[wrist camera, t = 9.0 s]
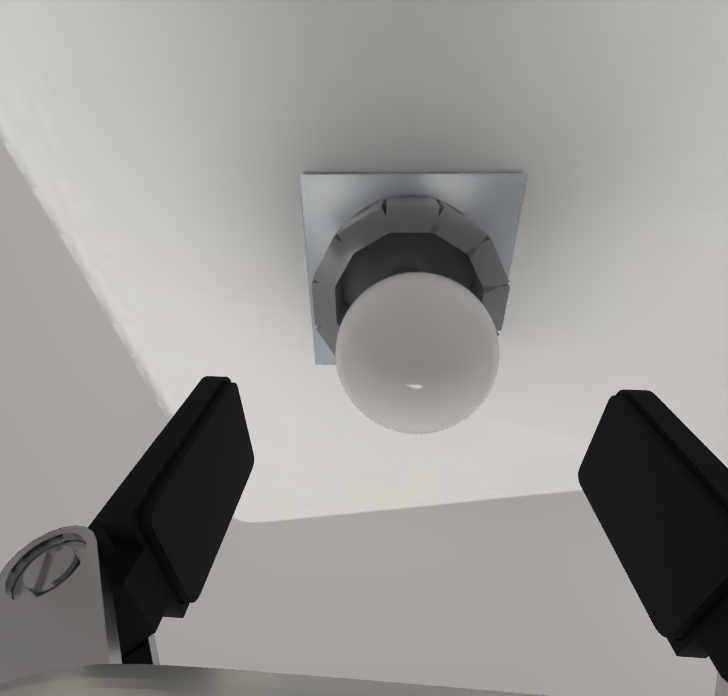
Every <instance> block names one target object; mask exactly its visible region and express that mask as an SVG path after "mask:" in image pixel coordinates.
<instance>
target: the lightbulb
mask: <svg viewBox="0 0 728 696" xmlns="http://www.w3.org/2000/svg"><path fill="white" fill-rule="evenodd" d="M335 353H336V366H337V371H338V375H339V378H340V381H341V383H342V386H343V388H344V390H345V392H346V394H347V395H348V397H349V398H350V400H351V401H352V402H353V404H354V405H355V406H356V407H357V408H358V409H359V410H360V411H361V412H362V413H363V414H364V415H365V416H366V417H368V418H369V419H370V420H372V421H374V422H375V423H377V424H379V425H381V426H383V427H385V428H387V429H390V430H393V431H397V432H401V433H407V434H428V433H434V432H438V431H442V430H445V429H448V428H450V427H452V426H454V425H456V424H458V423H460V422H461V421H463V420H465V419H466V418H467V417H469V416H470V415H471V414H472V413H473V412H474V411H475V410H476V409H477V408H478V407H479V406H480V405H481V404H482V402H483V401H484V400H485V398H486V397H487V395H488V393H489V392H490V390H491V388H492V386H493V383H494V381H495V378H496V374H497V370H498V364H499V342H498V336H497V332H496V329H495V326H494V323H493V321H492V318H491V316H490V314H489V313H488V311H487V309H486V308H485V306H484V305H483V304H482V302H481V301H480V300H479V299H478V298H477V297H476V296H475V295H474V294H473V293H472V292H471V291H470V290H468V289H467V288H466V287H464V286H463V285H461V284H460V283H458V282H456V281H454V280H452V279H450V278H448V277H445V276H442V275H438V274H434V273H428V272H421V271H420V270H418V269H415V268H410V267H405V268H400V269H398V270H396V271H394V272H393V273H391V274H390V275H389V277H387V278H384V279H382V280H380V281H378V282H377V283H375V284H373V285H372V286H370V287H369V288H367V289H366V290H365V291H364V292H363V293H361V294H360V295H359V296H358V297H357V298H356V300H355V301H354V302H353V303H352V305H351V306H350V307H349V309H348V310H347V312H346V314H345V316H344V318H343V320H342V322H341V325H340V328H339V331H338V335H337V340H336V351H335Z"/></svg>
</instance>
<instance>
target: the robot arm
mask: <svg viewBox="0 0 728 696" xmlns="http://www.w3.org/2000/svg"><path fill="white" fill-rule="evenodd" d="M253 464H254V454H253V450H252V445H251V441H250V437H249V433H248V429H247V424H246V420H245V416H244V412H243V407H242V403H241V399H240V395H239V391H238V387H237V384H236V383H231V380H230V379H229V378H228V377H215V376H206V377H204V378H202V379H201V381H200V382H199V383H198V385H197V386H196V387H195V389H194V390H193V391H192V393H191V394H190V395H189V396H188V398H187V399H186V400H185V402H184V403H183V404H182V406H181V407H180V408H179V409H178V411H177V412H176V413H175V415H174V416H173V417H172V419H171V420H170V421H169V423H168V424H167V425H166V426H165V428H164V429H163V430H162V432H161V433H160V434H159V435H158V437H157V438H156V439H155V441H154V442H153V443H152V445H151V446H150V447H149V448H148V450H147V451H146V452H145V454H144V455H143V456H142V458H141V459H140V460H139V462H138V463H137V464H136V465H135V467H134V468H133V470H132V471H131V472H130V473H129V475H128V476H127V477H126V478H125V480H124V481H123V483H122V484H121V485H120V487H119V488H118V489H117V490H116V492H115V493H114V494H113V495H112V497H111V498H110V500H109V501H108V502H107V503H106V505H105V506H104V507H103V508H102V510H101V511H100V513H99V514H98V515H97V516H96V518H95V519H94V520H93V522H92V523H91V524H90V526H89V527H88V528H87V527H83V526H77V525H75V526H68V527H62V528H59V529H56V530H53V531H51V532H48V533H46V534H44V535H42V536H41V537H39V538H37V539H35V540H34V541H32V542H31V543H29V544H28V545H27V546H25V547H24V548H23V549H21V550H20V551H19V552H18V553H17V554H16V555H15V556H14V557H13V558H12V559H11V560H10V561H9V562H8V563H7V564H6V565H5V567H4V568H3V570H2V572H1V573H0V696H547V695H535V694H523V693H511V692H500V691H488V690H477V689H465V688H454V687H442V686H430V685H418V684H406V683H395V682H383V681H370V680H359V679H346V678H333V677H321V676H309V675H296V674H284V673H271V672H259V671H246V670H234V669H218V668H202V667H183V666H168V665H160V663H159V657H158V653H157V647H156V643H155V637H154V633H155V632H156V630H157V628H158V626H159V623H160V621H161V619H162V617H175V618H183V617H184V615H185V613H186V610H187V608H188V606H189V603H193V602H195V601H196V600H197V599H198V597H199V595H200V593H201V591H202V589H203V586H204V584H205V581H206V579H207V577H208V574H209V572H210V569H211V567H212V565H213V562H214V560H215V557H216V555H217V553H218V550H219V548H220V545H221V543H222V541H223V538H224V536H225V533H226V531H227V529H228V526H229V523H230V521H231V519H232V516H233V514H234V512H235V509H236V507H237V504H238V502H239V500H240V497H241V495H242V492H243V490H244V488H245V485H246V483H247V480H248V478H249V476H250V473H251V471H252V468H253ZM578 478H579V483H580V485H581V487H582V489H583V491H584V493H585V495H586V497H587V499H588V501H589V502H590V504H591V506H592V508H593V510H594V512H595V514H596V516H597V518H598V520H599V522H600V523H601V525H602V527H603V529H604V531H605V533H606V535H607V537H608V539H609V541H610V542H611V544H612V546H613V548H614V550H615V552H616V554H617V556H618V558H619V560H620V562H621V563H622V565H623V567H624V569H625V571H626V573H627V575H628V577H629V579H630V581H631V582H632V585H633V586H634V588H635V590H636V592H637V594H638V596H639V598H640V600H641V602H642V603H643V605H644V607H645V609H646V611H647V613H648V615H649V617H650V619H651V621H652V623H653V625H654V626H655V628H656V629H657V631H658V632H659V633H660V634H661V635H662V636H664V637H666V638H667V639H668V641H669V643H670V644H671V646H672V648H673V650H674V652H675V654H676V656H682V657H695V658H696V657H697V658H707V657H708V656H709V657H710V659H711V660H712V662H713V664H714V666H715V667H716V669H717V670H718V674H717V683H716V692H715V696H728V468H727V467H726V466H725V465H724V464H723V463H722V462H721V461H720V460H719V459H718V458H717V457H716V456H715V455H714V454H713V453H712V452H711V451H710V450H709V449H708V448H707V447H706V446H705V445H704V444H703V443H702V442H701V441H700V440H699V439H698V438H697V437H696V436H695V435H694V434H693V433H692V432H691V431H690V430H689V429H688V428H687V427H686V426H685V425H684V424H683V423H682V421H681V420H680V419H679V418H678V417H677V416H676V415H675V414H674V413H673V412H672V411H671V410H670V409H669V408H668V407H667V406H666V405H665V404H664V403H663V402H662V401H661V400H660V399H659V398H658V397H657V396H656V395H655V394H654V393H652V392H651V391H647V390H620V391H619V392H618V393H617V394H616V395H614V396H612V397H610V399H609V401H608V403H607V405H606V408H605V410H604V412H603V415H602V417H601V419H600V422H599V424H598V426H597V429H596V431H595V433H594V436H593V438H592V440H591V443H590V445H589V447H588V450H587V452H586V454H585V457H584V459H583V461H582V464H581V466H580V468H579V472H578Z"/></svg>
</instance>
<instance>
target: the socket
mask: <svg viewBox="0 0 728 696" xmlns="http://www.w3.org/2000/svg"><path fill="white" fill-rule="evenodd" d="M526 179H527V174H526V173H350V174H301V175H300V184H301V196H302V208H303V220H304V232H305V244H306V256H307V268H308V279H309V291H310V303H311V315H312V327H313V339H314V351H315V363H316V364H324V365H336V353H335V351H336V340H337V335H338V331H339V328H340V325H341V322H342V320H343V318H344V316H345V314H346V312H347V310H348V309H349V307H350V306H351V305H352V303H353V302H354V301H355V300H356V298H357V297H358V296H359V295H360V294H361V293H363V292H364V291H365V290H366V289H367V288H369V287H370V286H372V285H373V284H375V283H377V282H378V281H380V280H382V279H384V278H387V277H389V275H390V274H391V273H393V272H394V271H396V270H398V269H400V268H405V267H410V268H415V269H418V270H420V271H421V272H428V273H434V274H438V275H442V276H445V277H448V278H450V279H452V280H454V281H456V282H458V283H460V284H461V285H463V286H464V287H466V288H467V289H468V290H470V291H471V292H472V293H473V294H474V295H475V296H476V297H477V298H478V299H479V300H480V301H481V302H482V304H483V305H484V306H485V308H486V309H487V311H488V313H489V314H490V316H491V318H492V321H493V323H494V326H495V329H496V332H497V336H498V335H499V333H498V330H501V329H502V324H503V319H504V314H505V309H506V303H507V298H508V293H509V288H510V286H509V285H508V284H507V283H508V282H509V280H508V275H509V270H510V265H511V259H512V254H513V249H514V243H515V238H516V233H517V227H518V222H519V217H520V211H521V206H522V201H523V195H524V190H525V185H526Z"/></svg>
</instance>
